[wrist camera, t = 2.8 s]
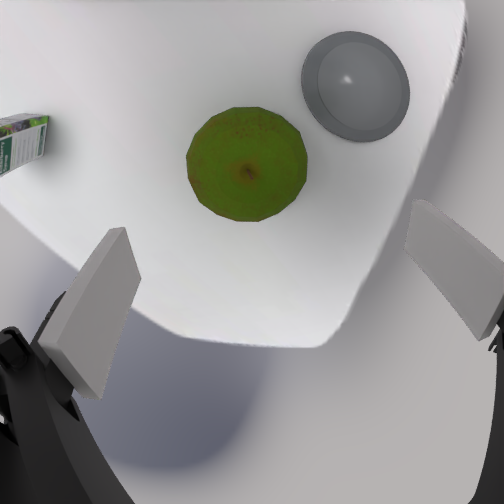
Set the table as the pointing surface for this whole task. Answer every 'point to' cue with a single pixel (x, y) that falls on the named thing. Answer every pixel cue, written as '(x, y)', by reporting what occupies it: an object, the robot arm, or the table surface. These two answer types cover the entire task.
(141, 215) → the table surface
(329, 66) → the slate plate
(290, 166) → the apple
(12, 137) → the syrup box
